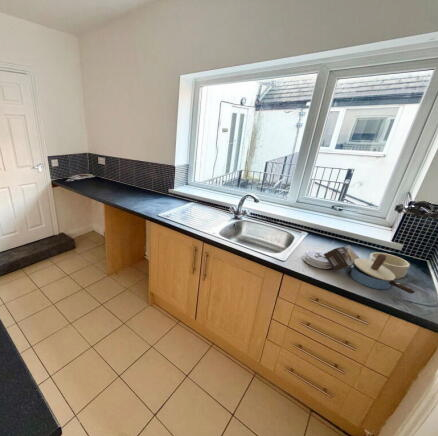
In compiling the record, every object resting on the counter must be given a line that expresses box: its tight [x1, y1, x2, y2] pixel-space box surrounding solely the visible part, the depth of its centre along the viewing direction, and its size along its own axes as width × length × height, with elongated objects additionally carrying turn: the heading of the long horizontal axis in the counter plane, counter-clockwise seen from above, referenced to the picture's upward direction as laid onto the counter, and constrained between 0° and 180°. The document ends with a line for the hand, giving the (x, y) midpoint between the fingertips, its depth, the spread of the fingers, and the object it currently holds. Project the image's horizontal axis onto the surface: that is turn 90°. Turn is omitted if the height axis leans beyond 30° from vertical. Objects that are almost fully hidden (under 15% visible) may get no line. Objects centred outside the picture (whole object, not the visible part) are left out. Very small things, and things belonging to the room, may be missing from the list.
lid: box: [302, 249, 333, 270], centre depth 122 cm, size 13×13×5 cm
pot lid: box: [354, 254, 396, 281], centre depth 106 cm, size 15×15×8 cm
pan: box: [350, 265, 415, 294], centre depth 106 cm, size 21×14×4 cm, turn 22°
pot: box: [368, 251, 411, 280], centre depth 116 cm, size 14×14×6 cm
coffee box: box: [324, 244, 360, 272], centre depth 116 cm, size 9×6×16 cm
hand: (411, 213), depth 112 cm, fingers open, 8 cm apart
